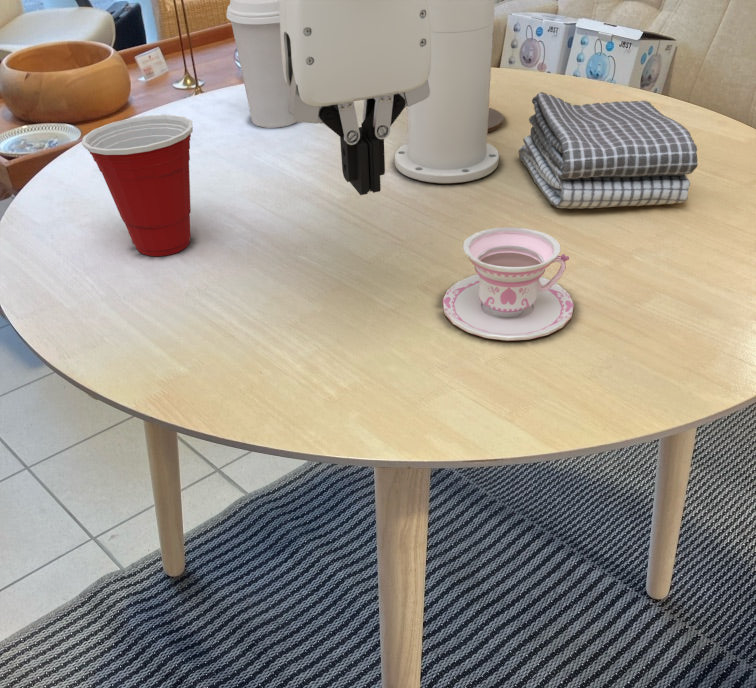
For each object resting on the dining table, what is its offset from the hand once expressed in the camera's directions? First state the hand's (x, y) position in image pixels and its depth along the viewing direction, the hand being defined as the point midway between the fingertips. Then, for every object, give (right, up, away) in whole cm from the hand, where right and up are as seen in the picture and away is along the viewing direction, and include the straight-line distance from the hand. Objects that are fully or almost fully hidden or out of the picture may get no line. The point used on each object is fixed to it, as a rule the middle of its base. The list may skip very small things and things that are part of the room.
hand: (364, 186), depth 68 cm
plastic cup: (-22, +2, +23) cm, 32 cm away
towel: (+27, +12, +32) cm, 43 cm away
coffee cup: (-13, +28, +50) cm, 58 cm away
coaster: (+13, +26, +47) cm, 55 cm away
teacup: (+13, -7, +12) cm, 19 cm away
